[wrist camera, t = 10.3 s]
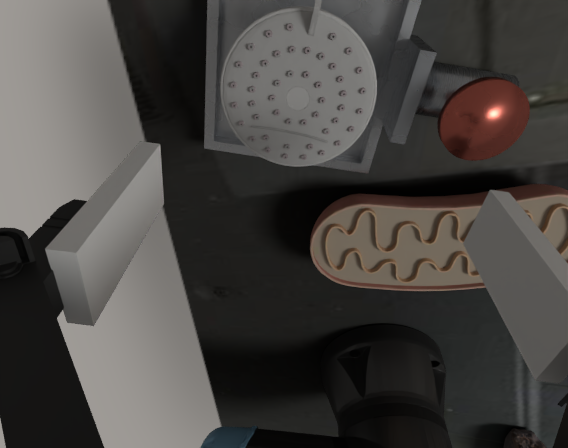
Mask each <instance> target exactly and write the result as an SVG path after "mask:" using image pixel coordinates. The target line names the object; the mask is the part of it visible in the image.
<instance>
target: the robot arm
mask: <svg viewBox="0 0 568 448" xmlns="http://www.w3.org/2000/svg"><path fill="white" fill-rule="evenodd" d="M163 204H164V197H163V181H162V166H161V150H160V144H156V143H149V142H142V141H140V142H139V143H138V145H137V146H136V147H135V148H134V149H133V150H132V151H131V152H130V154H129V155H128V156H127V157H126V158H125V159H124V160H123V162H122V163H121V164H120V165H119V166H118V167H117V168H116V169H115V171H114V172H113V173H112V174H111V175H110V176H109V177H108V179H107V180H106V181H105V182H104V183H103V184H102V185H101V186H100V188H99V189H98V190H97V191H96V192H95V193H94V194H93V195H92V196H91V198H90V199H89V200H88V201H82V200H75V199H74V200H72V201H70V202H69V203H66V204H65V205H63V206H61V207H59V208H58V209H57V210H56V212H54V213H53V215H51V216H50V219H48V220H47V221H46V222H45V223H44V224H43V225H42V227H40V228H39V229H38V230H37V231H36V232H35V233H34V234H33V235H32V236H31V237H30V238H29V239H28V236H27V235H26V234H25V233H24V232H23V231H21V230H18V229H15V228H0V418H1V423H2V429H3V434H4V439H5V445H6V448H104V446H103V443H102V441H101V438H100V435H99V433H98V430H97V427H96V424H95V421H94V419H93V416H92V413H91V411H90V408H89V405H88V402H87V400H86V397H85V394H84V391H83V389H82V386H81V383H80V381H79V378H78V375H77V372H76V370H75V367H74V364H73V361H72V359H71V356H70V354H69V351H68V348H67V345H66V342H65V340H64V337H63V334H62V331H61V329H60V326H59V323H58V321H57V317H58V316H59V314H60V312H61V311H62V310H63V311H64V314H65V317H66V321H67V322H68V323H75V324H83V325H91V326H94V324H95V323H96V321H97V319H98V318H99V316H100V314H101V312H102V311H103V309H104V307H105V305H106V304H107V302H108V300H109V298H110V297H111V295H112V293H113V292H114V290H115V288H116V286H117V284H118V283H119V281H120V279H121V278H122V276H123V274H124V272H125V271H126V269H127V267H128V265H129V264H130V262H131V260H132V258H133V257H134V255H135V253H136V251H137V250H138V248H139V246H140V244H141V243H142V241H143V239H144V237H145V236H146V234H147V232H148V231H149V229H150V227H151V225H152V224H153V222H154V220H155V218H156V216H157V215H158V213H159V211H160V210H161V208H162V206H163ZM463 245H464V247H465V248H466V250H467V252H468V254H469V256H470V258H471V260H472V262H473V264H474V266H475V267H476V269H477V271H478V273H479V275H480V277H481V279H482V281H483V283H484V284H485V286H486V288H487V290H488V292H489V294H490V296H491V298H492V300H493V302H494V303H495V305H496V307H497V309H498V311H499V313H500V315H501V317H502V319H503V321H504V322H505V324H506V326H507V328H508V330H509V332H510V334H511V336H512V338H513V339H514V341H515V343H516V345H517V347H518V349H519V351H520V353H521V355H522V357H523V358H524V360H525V362H526V364H527V366H528V368H529V370H530V372H531V374H532V376H533V377H534V379H535V380H536V381H544V382H552V383H561V382H562V381H563V380H564V379H565V378H566V377H567V375H568V263H567V262H566V261H565V259H564V258H563V257H562V256H561V255H560V253H559V252H558V251H557V250H556V249H555V247H554V246H553V245H552V244H551V243H550V241H549V240H548V239H547V238H546V236H545V235H544V234H543V233H542V232H541V230H540V229H539V228H538V227H537V226H536V224H535V223H534V222H533V221H532V220H531V218H530V217H529V216H528V215H527V214H526V212H525V211H524V210H523V209H522V208H521V206H520V205H519V204H518V203H517V202H516V200H515V199H514V198H513V197H512V195H511V194H510V193H509V192H503V191H496V190H490V191H489V193H488V195H487V197H486V199H485V201H484V203H483V205H482V207H481V209H480V211H479V213H478V215H477V217H476V219H475V221H474V223H473V225H472V227H471V229H470V231H469V233H468V235H467V237H466V239H465V241H464V243H463ZM321 379H322V383H323V386H324V389H325V391H326V394H327V397H328V399H329V402H330V405H331V407H332V410H333V412H334V415H335V418H336V420H337V423H338V434H339V437H332V436H324V435H314V434H304V433H295V432H285V431H275V430H265V429H258V426H252V427H251V428H245V427H220V428H217V429H215V430H213V431H212V432H211V433H210V434H209V435H208V436H207V438H206V439H205V440H204V442H203V444H202V446H201V448H452V445H451V441H450V438H449V435H448V431H447V428H446V424H445V420H444V400H445V380H446V370H445V364H444V361H443V358H442V355H441V352H440V349H439V347H438V345H437V344H436V343H435V342H434V341H433V340H432V339H431V338H430V337H429V336H427V335H426V334H424V333H422V332H420V331H418V330H415V329H412V328H409V327H404V326H399V325H371V326H365V327H361V328H357V329H354V330H351V331H349V332H346V333H344V334H342V335H340V336H339V337H337V338H336V339H334V340H333V341H332V342H331V343H330V344H329V345H328V346H327V347H326V349H325V350H324V352H323V354H322V357H321ZM565 403H567V405H566V409H565V412H564V415H563V418H562V421H561V424H560V427H559V430H558V433H557V436H556V439H555V443H554V446H553V448H568V394H567V395H566V396H565V397H564V398H563V399H562V400H561V401H560V402H559V403H558V405H560V406H561V407H562V406H563V405H564V404H565Z"/></svg>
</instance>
